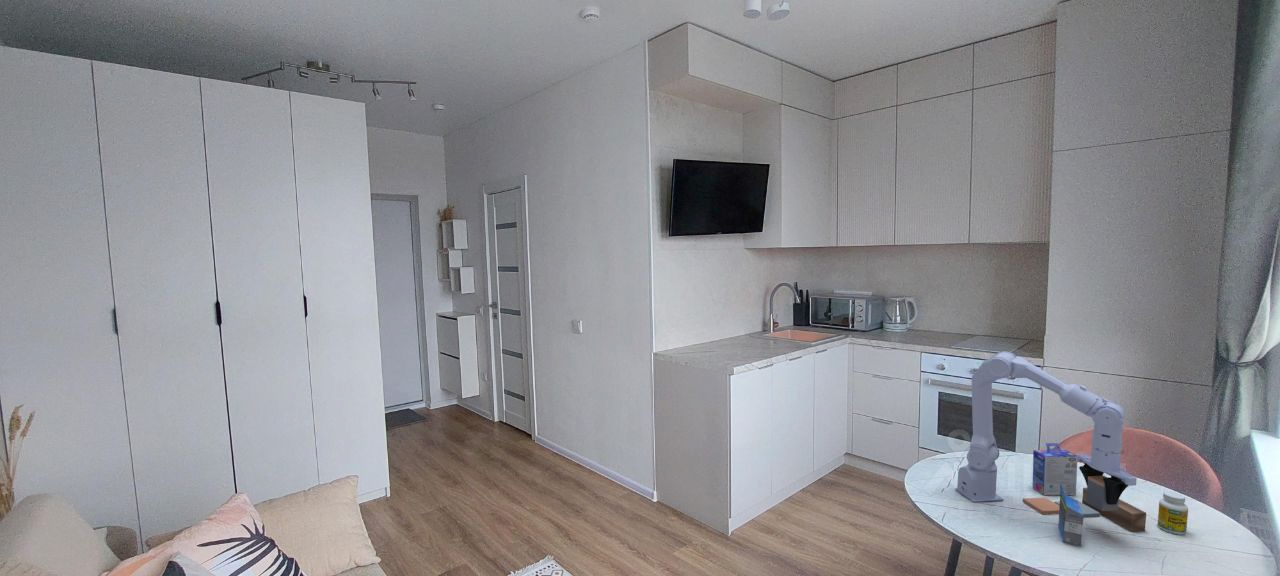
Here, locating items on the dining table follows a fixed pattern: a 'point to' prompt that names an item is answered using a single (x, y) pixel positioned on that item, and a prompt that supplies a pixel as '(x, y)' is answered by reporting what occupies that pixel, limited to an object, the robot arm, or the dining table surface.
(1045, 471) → the ink cartridge box
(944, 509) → the dining table surface
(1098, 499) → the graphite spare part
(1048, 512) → the terracotta pad
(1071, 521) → the label tape cartridge
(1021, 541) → the dining table surface
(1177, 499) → the supplement bottle
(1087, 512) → the slate pad
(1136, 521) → the block
